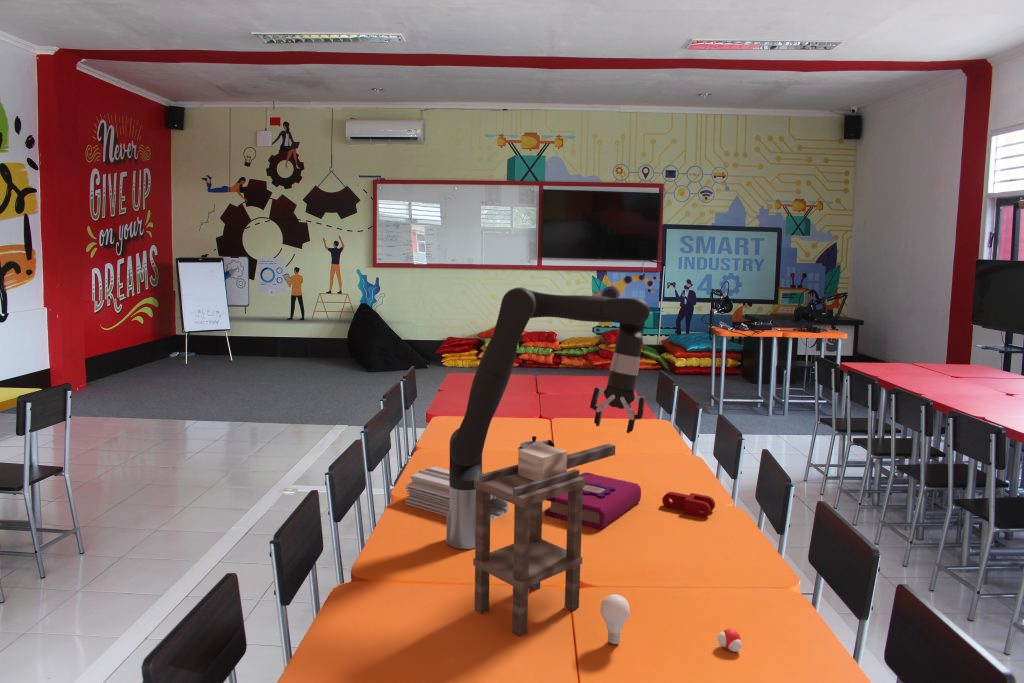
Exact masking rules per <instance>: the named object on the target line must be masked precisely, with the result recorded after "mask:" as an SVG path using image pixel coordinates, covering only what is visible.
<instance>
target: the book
mask: <svg viewBox="0 0 1024 683" xmlns="http://www.w3.org/2000/svg"><path fill="white" fill-rule="evenodd" d="M579 477H582V478H585V487H583V502H582V526H583V527H587V528H591V529H594V530H597V531H600V530H602V529H604V528H605V527H606V526H608V525H609V524H611V523H612V522H614V521H615V520H616V519H617V518H619V517H621V516H622V515H623V514H624V513H626V512H627V511H630V509H631V508H633V507H634V506H636V505H637V504H639V503H640V501H641V497H642V488H641V485H640V484H638V483H636V482H631V481H626V480H622V479H617V478H612V477H607V476H605V475H599V474H595V473H591V472H582V473H581V474H579ZM545 501H547V502H550V507H549V508H547V509H546V510H544V511H543V512H544V514H543V515H544V516H545V517H547V516H549V518H551V517H552V518H551V519H555V518H557V519H556V520H559V519H560V521H563V522H567V513H568V493H565V494H562V495H559V496H556V497H553V498H550V499H547V500H545Z"/></svg>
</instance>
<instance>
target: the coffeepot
mask: <svg viewBox="0 0 1024 683" xmlns="http://www.w3.org/2000/svg"><path fill="white" fill-rule="evenodd" d="M539 444H546V445H549V446H552V447H555V443H554V442H553V441H552V440H551V439H547V440H542V441H538V440H537V436H536V435H533V436H531V440H527V441H524V442H521V443H520V445H519V446H518V447H517V450H520V449H524V448H528V447H532V446H535V445H539Z"/></svg>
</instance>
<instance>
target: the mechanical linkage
mask: <svg viewBox="0 0 1024 683" xmlns="http://www.w3.org/2000/svg"><path fill="white" fill-rule="evenodd" d="M661 502H662V505H663V506H664V507H665V508H667V509H671V510H676V511H681V512H683V514H684V515H687V516H692V517H697V518H700V519H701V518H702V519H705V518H707V517H709V515H710V514H711V512H712V511H713V510H715V508H716V502H715V500H714V498H713V497H711V496H708V495H704V494H700V493H694V492H693V493H692V492H690V493H689V494H684V493H680V492H676V491H667V492H666V494H664V495H663V497H662V499H661Z"/></svg>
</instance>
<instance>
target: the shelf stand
mask: <svg viewBox="0 0 1024 683" xmlns="http://www.w3.org/2000/svg"><path fill="white" fill-rule="evenodd" d="M580 473H581V472H580V470H579V469H576V468H575V469H572V470H569V471H568V470H567V472H565V473H561V474H558V475H555V476H551V477H548V478H545V479H541V480H538V481H534V480H531V479H528V478H526V477H523V476H520V475H518V464H515V465H511V466H507V467H504V468H500V469H496V470H493V471H490V472H486V473H482V474H481V475H479V478H477V479H474V488H476V528H475V548H474V549H475V550H474V552H475V553H474V558H472V559H473V563H472V565H473V566H474V611H475V612H476V613H478V614H480V615H482V614H484V613H487V612H489V611H490V575H491V576H493V577H494V578H497V579H499V580H501V581H503V582H505V583H506V584H508V585H510V586H511V587H512V618H511V619H512V622H511V632H512V634H514V635H515V636H518V637H519V638H520V637H523V636H524V635H526V634H528V624H529V623H528V621H529V620H528V618H529V616H528V615H529V590H531V591H532V592H534V591H537V590H539V589H541V582H542V581H545V580H547V579H549V578H551V577H553V576H556V575H559V574H561V573H563V572H565V581H564V582H565V583H564V591H565V592H564V608H565V609H567V610H569V611H571V612H574V611H577V609H579V608H580V585H581V583H580V582H581V565H582V564H583V557H582V554H581V553H582V532H583V531H582V528H583V527H582V502H583V487H585V478H582V477H579V475H580ZM565 493H568V513H567V521H566V547H565V548H566V549H565V548H563V547H560V546H559V545H556V544H554V543H552V542H549V541H547V540H545V539H543V536H542V533H543V502H544V501H546V500H547V499H550V498H553V497H556V496H559V495H562V494H565ZM491 495H493V496H495V497H498V498H500V499H503V500H505V501H508V503H510V504H512V505H514V513H513V515H514V516H513V517H514V521H513V543H511V544H508V545H506V546H504V547H503V546H502V547H501V548H498V549H495V550H493V551H491V521H490V505H491Z"/></svg>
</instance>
